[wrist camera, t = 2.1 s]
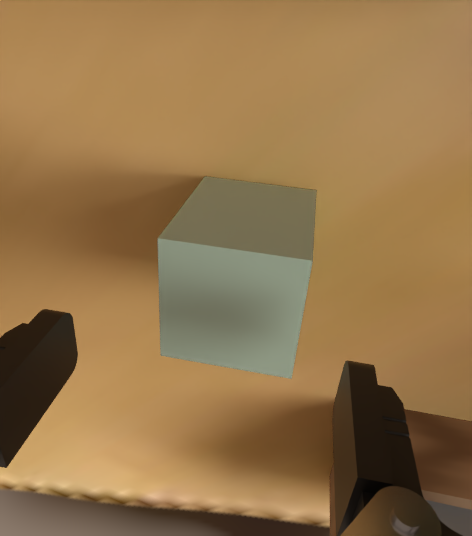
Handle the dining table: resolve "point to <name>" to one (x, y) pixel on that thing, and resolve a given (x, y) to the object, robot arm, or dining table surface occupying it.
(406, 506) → the robot arm
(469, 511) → the cube
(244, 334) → the block
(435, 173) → the dining table surface
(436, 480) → the plinth
